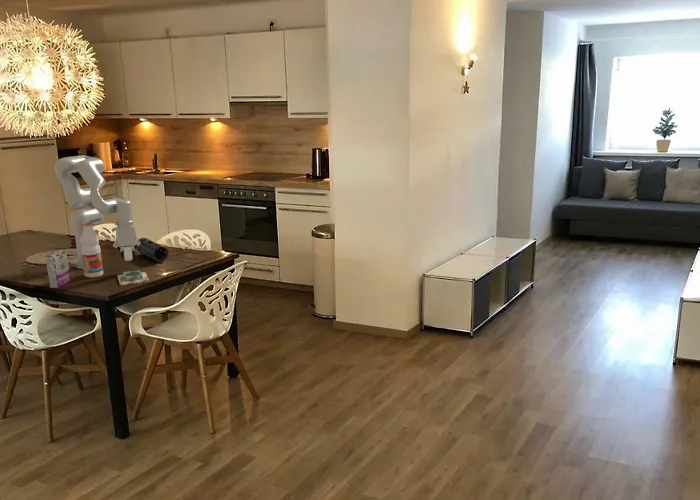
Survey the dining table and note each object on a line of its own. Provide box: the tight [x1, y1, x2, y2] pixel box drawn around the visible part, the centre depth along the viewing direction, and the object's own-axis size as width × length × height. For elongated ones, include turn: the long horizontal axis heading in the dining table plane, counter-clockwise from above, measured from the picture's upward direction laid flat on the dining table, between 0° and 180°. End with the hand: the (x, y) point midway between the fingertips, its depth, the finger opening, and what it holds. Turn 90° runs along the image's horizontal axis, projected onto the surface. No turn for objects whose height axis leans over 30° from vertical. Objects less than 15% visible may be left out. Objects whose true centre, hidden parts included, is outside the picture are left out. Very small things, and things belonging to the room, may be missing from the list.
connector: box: [123, 246, 134, 262], centre depth 336 cm, size 4×6×8 cm, turn 24°
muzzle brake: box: [135, 237, 170, 264], centre depth 365 cm, size 10×28×10 cm, turn 39°
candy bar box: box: [45, 250, 72, 289], centre depth 317 cm, size 11×5×16 cm, turn 170°
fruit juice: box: [80, 222, 104, 278], centre depth 332 cm, size 9×9×28 cm
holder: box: [116, 269, 150, 287], centre depth 325 cm, size 14×16×3 cm
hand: (128, 257), depth 337 cm, fingers closed on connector, 4 cm apart
